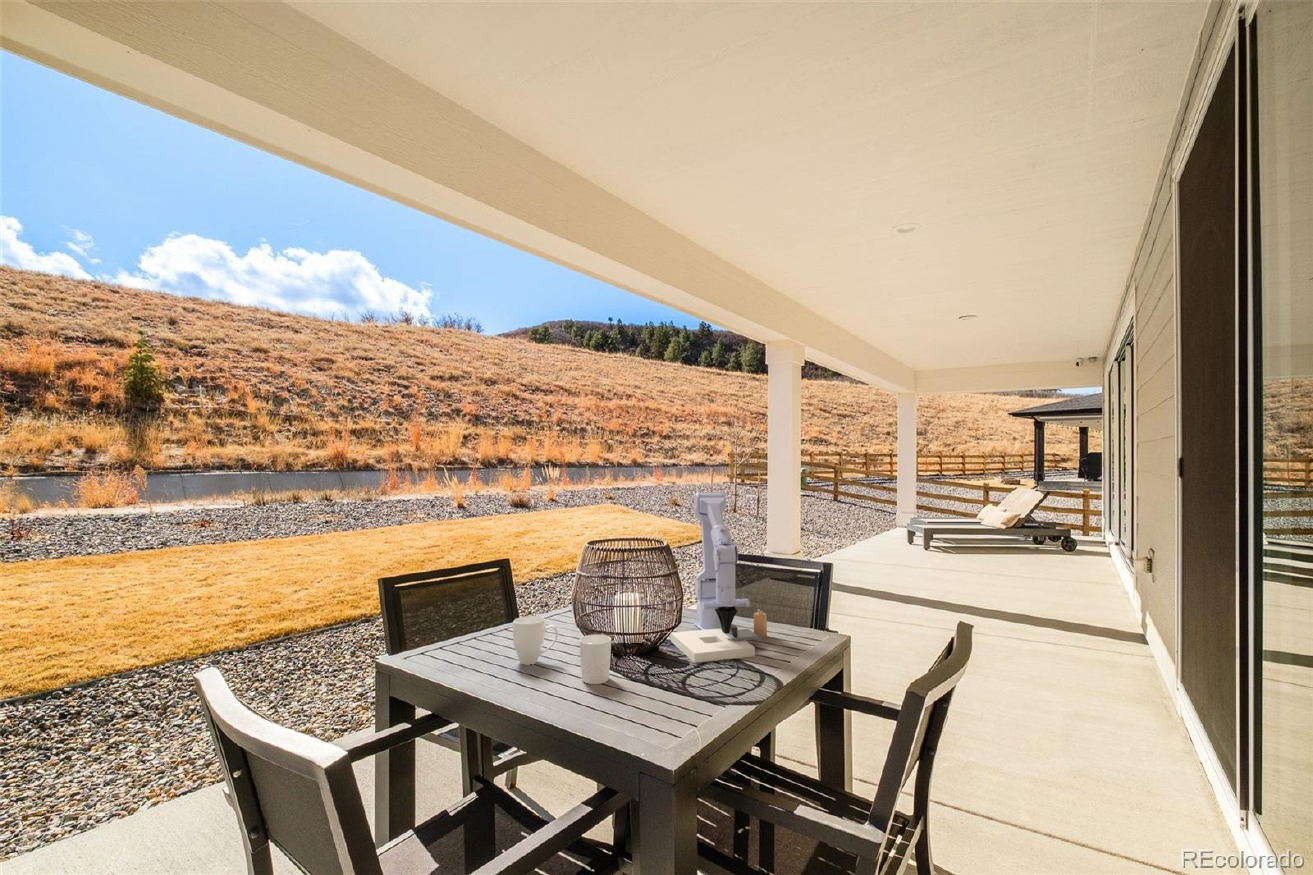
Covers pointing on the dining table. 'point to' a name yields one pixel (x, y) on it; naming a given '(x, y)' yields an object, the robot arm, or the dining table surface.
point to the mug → (530, 638)
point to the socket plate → (711, 645)
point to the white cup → (595, 658)
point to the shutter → (742, 634)
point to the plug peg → (760, 624)
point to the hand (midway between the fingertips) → (725, 632)
